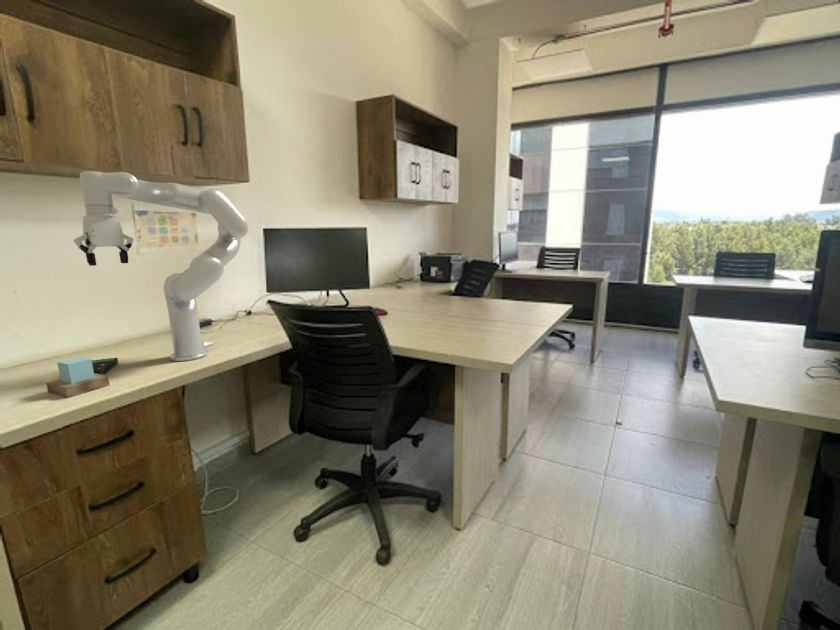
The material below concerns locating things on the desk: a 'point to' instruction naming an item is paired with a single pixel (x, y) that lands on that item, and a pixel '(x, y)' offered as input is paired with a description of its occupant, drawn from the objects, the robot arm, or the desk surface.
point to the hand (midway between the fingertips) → (109, 264)
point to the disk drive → (104, 365)
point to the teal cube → (75, 370)
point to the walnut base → (77, 386)
